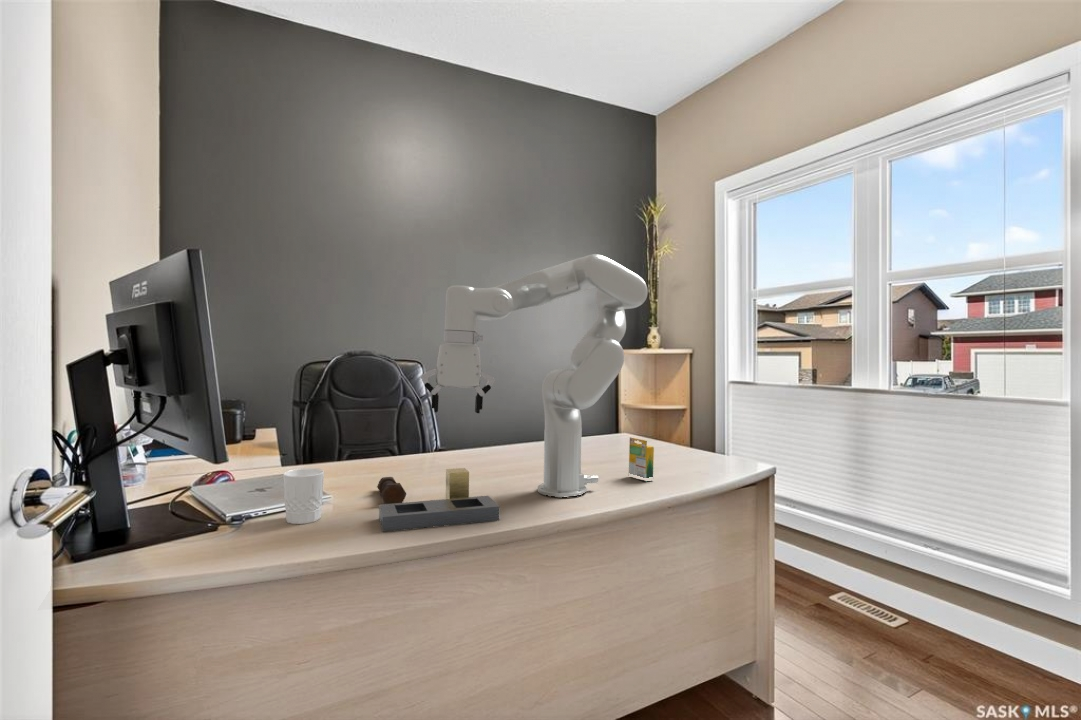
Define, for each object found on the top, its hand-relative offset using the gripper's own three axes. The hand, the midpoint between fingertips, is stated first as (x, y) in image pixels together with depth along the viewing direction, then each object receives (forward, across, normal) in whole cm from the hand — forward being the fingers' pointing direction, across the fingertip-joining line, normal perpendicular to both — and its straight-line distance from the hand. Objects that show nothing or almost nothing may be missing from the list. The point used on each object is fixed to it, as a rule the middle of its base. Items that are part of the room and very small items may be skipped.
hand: (456, 412), depth 129 cm
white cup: (+23, +32, +5) cm, 39 cm away
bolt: (+22, +14, -9) cm, 28 cm away
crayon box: (+20, -54, -15) cm, 60 cm away
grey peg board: (+22, +4, +11) cm, 25 cm away
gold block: (+22, -1, 0) cm, 22 cm away
